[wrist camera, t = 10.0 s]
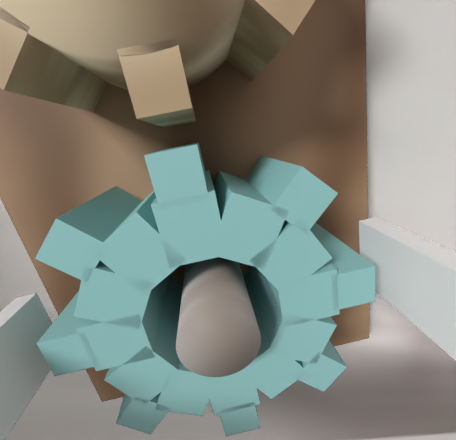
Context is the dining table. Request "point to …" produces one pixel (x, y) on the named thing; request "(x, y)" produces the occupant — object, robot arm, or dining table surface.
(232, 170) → the gear board
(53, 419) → the dining table surface
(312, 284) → the teal gear
